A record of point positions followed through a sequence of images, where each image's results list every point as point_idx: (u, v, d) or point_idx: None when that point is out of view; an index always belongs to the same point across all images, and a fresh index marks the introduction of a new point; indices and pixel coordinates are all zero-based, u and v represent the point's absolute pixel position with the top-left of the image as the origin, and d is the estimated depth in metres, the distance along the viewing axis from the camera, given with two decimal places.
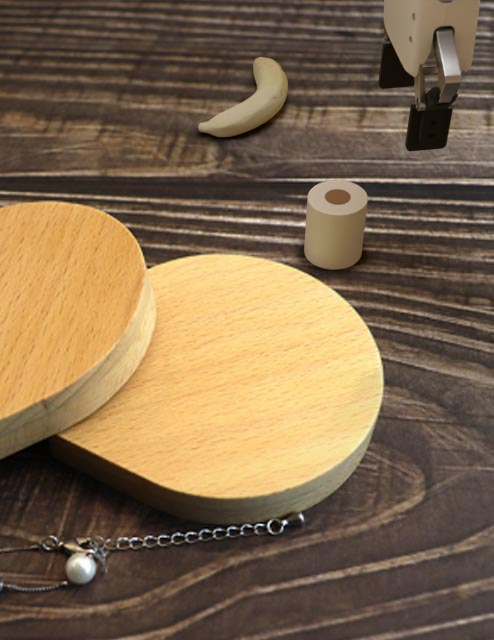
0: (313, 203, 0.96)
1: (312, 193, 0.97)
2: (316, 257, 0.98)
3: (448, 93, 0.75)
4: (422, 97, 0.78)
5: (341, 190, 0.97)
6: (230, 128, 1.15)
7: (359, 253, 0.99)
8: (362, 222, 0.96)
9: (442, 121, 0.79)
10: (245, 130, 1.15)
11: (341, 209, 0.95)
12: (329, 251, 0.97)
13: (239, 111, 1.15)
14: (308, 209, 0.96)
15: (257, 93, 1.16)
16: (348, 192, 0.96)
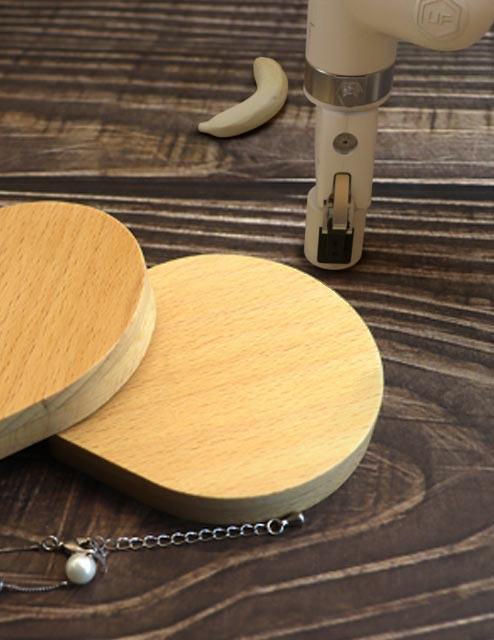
0: (313, 203, 0.96)
1: (312, 193, 0.97)
2: (316, 257, 0.98)
3: (338, 230, 0.91)
4: (325, 226, 0.93)
5: None
6: (230, 128, 1.15)
7: (359, 253, 0.99)
8: (362, 222, 0.96)
9: (343, 243, 0.95)
10: (245, 130, 1.15)
11: None
12: None
13: (239, 111, 1.15)
14: (308, 209, 0.96)
15: (257, 93, 1.16)
16: None
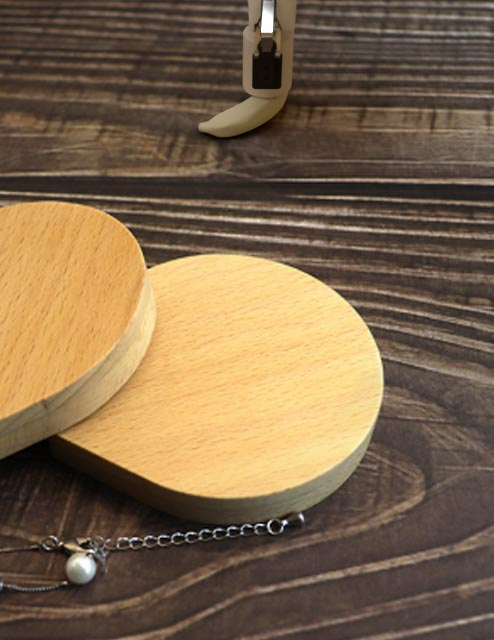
0: (247, 36, 1.12)
1: (247, 29, 1.13)
2: None
3: (266, 45, 1.05)
4: (256, 48, 1.08)
5: None
6: (230, 128, 1.15)
7: (288, 84, 1.15)
8: (289, 53, 1.13)
9: (273, 67, 1.09)
10: (245, 130, 1.15)
11: None
12: None
13: (239, 111, 1.15)
14: (243, 42, 1.13)
15: None
16: None
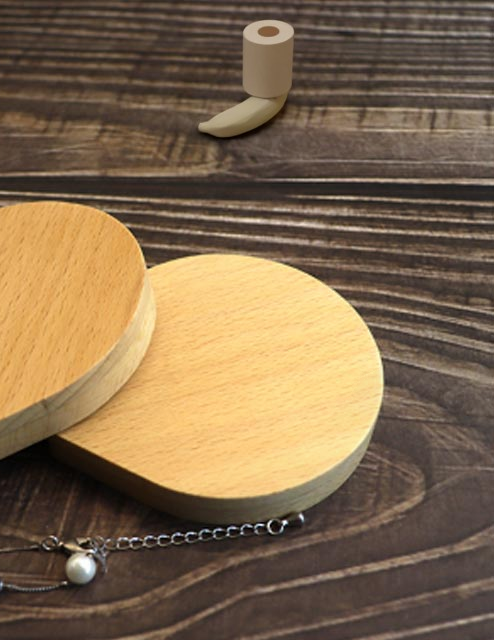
0: (247, 36, 1.12)
1: (247, 29, 1.13)
2: (252, 86, 1.15)
3: None
4: None
5: (271, 27, 1.13)
6: (230, 128, 1.15)
7: (288, 84, 1.15)
8: (289, 53, 1.13)
9: None
10: (245, 130, 1.15)
11: (270, 40, 1.11)
12: (262, 79, 1.14)
13: (239, 111, 1.15)
14: (243, 42, 1.13)
15: None
16: (278, 28, 1.13)
